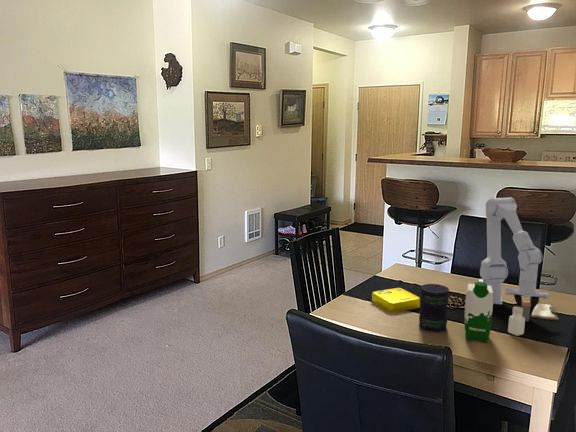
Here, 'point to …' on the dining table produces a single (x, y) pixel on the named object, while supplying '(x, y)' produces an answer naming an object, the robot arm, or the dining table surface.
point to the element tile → (395, 300)
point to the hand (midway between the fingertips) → (524, 314)
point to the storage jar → (433, 308)
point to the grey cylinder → (526, 309)
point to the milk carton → (478, 311)
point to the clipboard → (544, 312)
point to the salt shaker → (516, 322)
